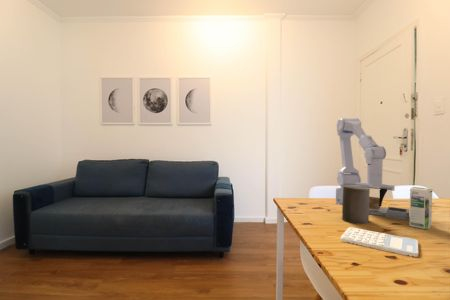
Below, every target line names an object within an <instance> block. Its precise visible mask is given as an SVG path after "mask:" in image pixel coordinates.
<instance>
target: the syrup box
mask: <svg viewBox="0 0 450 300" xmlns="http://www.w3.org/2000/svg"><path fill="white" fill-rule="evenodd" d="M432 210H433V188H427V187H419V186H417V187H416V186H412V187H410V190H409V227H413V228H418V229H422V230H423V229H424V230H427V231H428V230H430V228H431V227H432V222H433V221H432V219H433V218H432V216H433V215H432V213H433V211H432Z"/></svg>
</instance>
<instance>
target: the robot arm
mask: <svg viewBox="0 0 450 300" xmlns="http://www.w3.org/2000/svg"><path fill="white" fill-rule="evenodd" d="M336 133H337V136H339V137H338V138H339V147H340V155H341V164H342V165H341V166H342V167H341V169H339V171H337V177H336V180H337V184H338V185H337V186H336V188H335V204H337V205H338V204H341V205H342V203H343V186H344V185H359V186H365V187H369V188H370V189H373V190H374V189H375V190H379V198H380V201H379V206H380V207H383V205H382V204H383V201H384V197H386V193H387V191H393V192H394V191H395V185H394V184H393V185H390V184H384V183H383V167H384V166H383V162H384V161H383V160H384V159H385V158H386V156H387V151H386V148H385V147H384V146H382V145H381V146H380V145H379V144H377V143H376V141H375V140H374V138H373V137H372V135H368V134H367V133H365V130H364V129H363V127H362V121H361V120H360V119H359V118H357V117H356V118H346V117H345V118H343V117H340V118H339V119H338V120H337V122H336ZM352 136H356V137H357V139H358V144H359V145H360V147H361V148H362V149H363V151H364V153H363V154H364V159H365V163H366V164H367V168H366V169H367V170H366V171H367V172H366V182H362V178H361V176H360V173H359V170H358V169H356V168H355V167H354V160H353V151H352V142H351V138H352ZM355 183H356V184H355Z"/></svg>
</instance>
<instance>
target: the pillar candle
mask: <svg viewBox="0 0 450 300" xmlns="http://www.w3.org/2000/svg"><path fill="white" fill-rule="evenodd" d="M355 184H356V183H355ZM369 187H370V186H369ZM369 187H365V186H359V185H344V186H343V203H342V204H341V205H342V207H341V208H342V212H341V213H342V215H341V216H342V218H341V219H342V220H344V221H345V222H347V223H353V224H359V225H361V224H362V225H363V224H368V223H369V219H370V218H369V217H370V214H369V197H370V193H371V192H370V191H371V188H369Z"/></svg>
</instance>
